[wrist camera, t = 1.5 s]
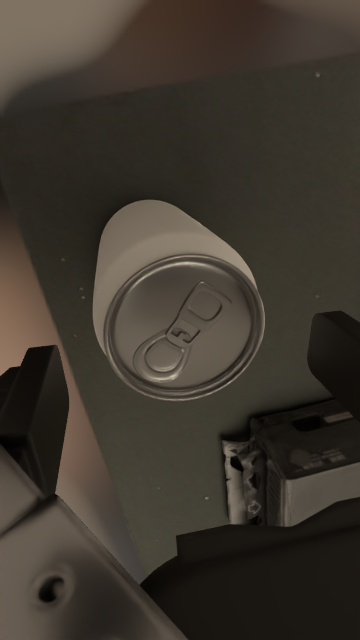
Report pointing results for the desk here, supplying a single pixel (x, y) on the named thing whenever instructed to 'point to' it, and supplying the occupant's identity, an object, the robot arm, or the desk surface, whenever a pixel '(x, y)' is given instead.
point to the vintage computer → (294, 465)
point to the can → (173, 304)
